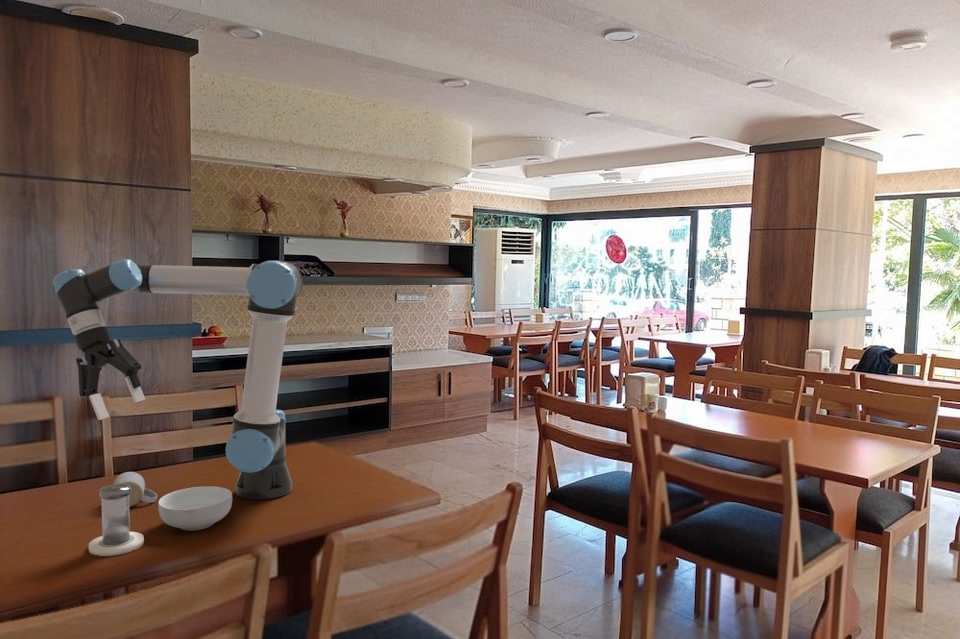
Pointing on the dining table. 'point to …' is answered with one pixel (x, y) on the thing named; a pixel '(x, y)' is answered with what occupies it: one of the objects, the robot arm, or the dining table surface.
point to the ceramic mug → (136, 488)
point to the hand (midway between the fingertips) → (121, 410)
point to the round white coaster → (116, 546)
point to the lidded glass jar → (115, 513)
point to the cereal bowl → (195, 507)
